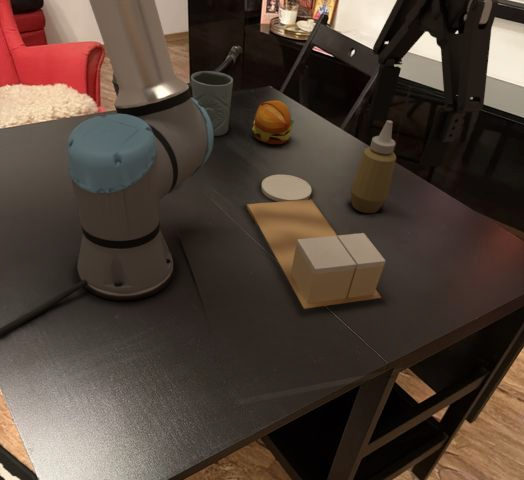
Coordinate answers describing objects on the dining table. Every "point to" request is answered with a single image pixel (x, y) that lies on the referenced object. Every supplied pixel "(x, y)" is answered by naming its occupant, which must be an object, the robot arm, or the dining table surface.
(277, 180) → the plate
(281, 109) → the cheeseburger
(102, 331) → the dining table surface
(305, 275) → the cake
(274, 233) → the serving board
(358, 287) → the cake slice
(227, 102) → the drinking glass
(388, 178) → the squeeze bottle
